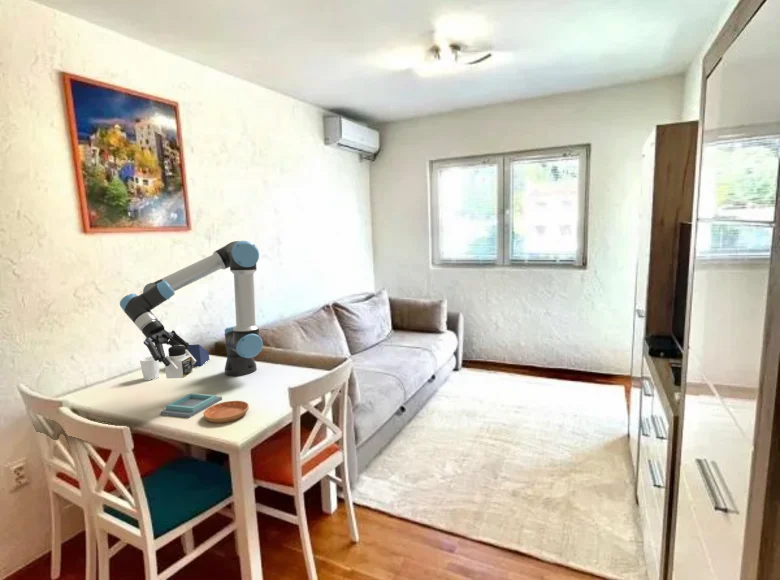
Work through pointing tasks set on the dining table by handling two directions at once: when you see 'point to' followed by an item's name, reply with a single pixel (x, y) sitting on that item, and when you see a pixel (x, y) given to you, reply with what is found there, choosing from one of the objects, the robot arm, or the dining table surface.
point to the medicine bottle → (179, 362)
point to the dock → (190, 405)
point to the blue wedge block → (199, 354)
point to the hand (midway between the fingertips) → (185, 366)
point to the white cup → (149, 368)
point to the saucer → (226, 411)
